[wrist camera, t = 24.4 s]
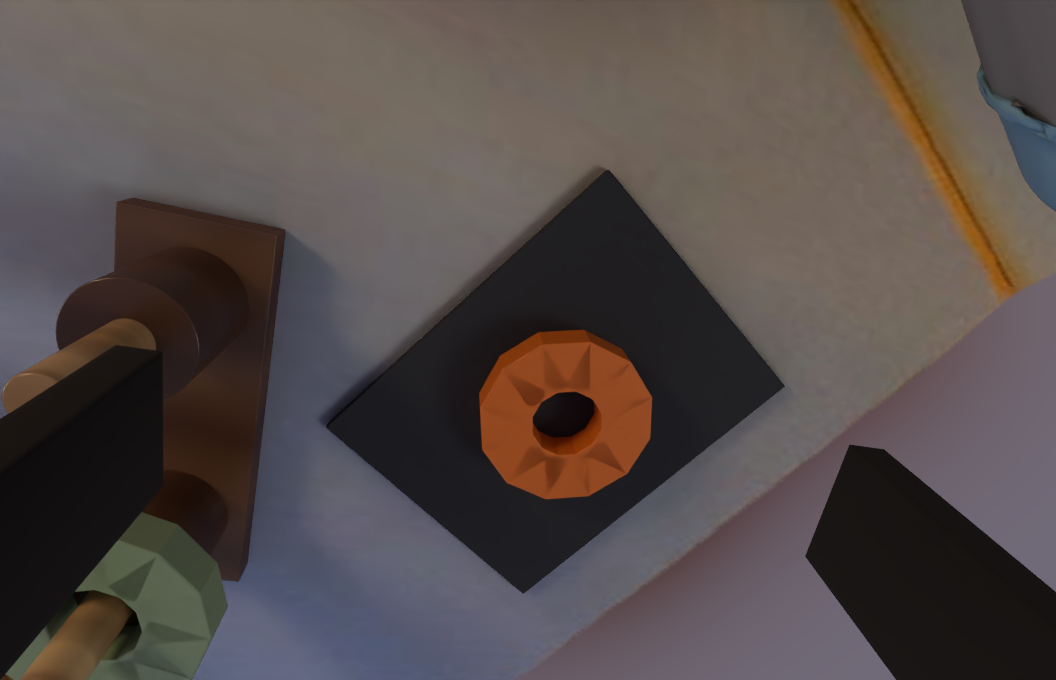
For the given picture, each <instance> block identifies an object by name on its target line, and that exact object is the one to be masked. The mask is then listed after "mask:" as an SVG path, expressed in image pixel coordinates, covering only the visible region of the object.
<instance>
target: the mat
mask: <svg viewBox="0 0 1056 680" xmlns="http://www.w3.org/2000/svg"><path fill="white" fill-rule="evenodd" d="M569 330H586V331H588V332H590V333H592V334H593V335H595V336H597V337H599V338H601V339H603V340H605V341H607V342H609V343H611V344H613V345H615V346H617V347H619V348H621V349H623V351H624V352H625V354H626V355H627V357H628V358H629V360H630V361H631V363H632V364H633V366H634V368H635V369H636V371H637V373H638V374H639V376H640V378H641V379H642V381H643V383H644V384H645V386H646V388H647V390H648V391H649V393H650V395H651V396H652V412H651V434H650V440H649V441H648V443H647V444H646V446H645V447H644V449H643V450H642V452H641V453H640V455H639V457H638V458H637V460H636V461H635V463H634V464H633V466H632V467H631V469H630V470H629V472H628V473H627V474H626V475H624V476H623V477H621V478H619V479H617V480H616V481H614V482H612V483H610V484H609V485H607V486H605V487H603V488H602V489H600V490H598V491H596V492H595V493H593V494H591V495H590V496H583V497H570V498H556V499H544V498H542V497H539V496H537V495H535V494H532V493H530V492H527V491H525V490H523V489H520V488H518V487H516V486H513V485H511V484H508V483H507V482H506V481H505V480H504V478H503V477H502V476H501V474H500V473H499V472H498V470H497V469H496V468H495V466H494V465H493V464H492V462H491V461H490V460H489V458H488V457H487V456H486V454H485V453H484V451H483V450H482V439H481V420H480V401H479V392H480V391H481V389H482V387H483V385H484V383H485V382H486V380H487V378H488V376H489V375H490V373H491V371H492V369H493V367H494V366H495V364H496V362H497V360H498V358H499V357H500V355H502V354H503V353H505V352H507V351H508V350H510V349H512V348H513V347H515V346H517V345H518V344H520V343H522V342H523V341H525V340H526V339H528V338H530V337H531V336H533V335H535V334H536V333H538V332H550V331H569ZM783 387H784V385H783V383H782V382H781V381H780V380H779V379H778V377H777V376H776V375H775V374H774V372H773V371H772V370H771V369H770V367H769V366H768V365H767V364H766V363H765V361H764V360H763V359H762V358H761V356H760V355H759V354H758V353H757V351H756V350H755V349H754V348H753V347H752V345H751V344H750V343H749V342H748V340H747V339H746V338H745V337H744V335H743V334H742V333H741V332H740V331H739V329H738V328H737V327H736V326H735V324H734V323H733V322H732V321H731V319H730V318H729V317H728V316H727V314H726V313H725V312H724V311H723V310H722V308H721V307H720V306H719V305H718V303H717V302H716V301H715V300H714V298H713V297H712V296H711V295H710V294H709V292H708V291H707V290H706V289H705V287H704V286H703V285H702V284H701V282H700V281H699V280H698V279H697V278H696V276H695V275H694V274H693V273H692V271H691V270H690V269H689V268H688V266H687V265H686V264H685V263H684V262H683V260H682V259H681V258H680V257H679V255H678V254H677V253H676V252H675V250H674V249H673V248H672V247H671V246H670V244H669V243H668V242H667V241H666V239H665V238H664V237H663V236H662V234H661V233H660V232H659V231H658V230H657V228H656V227H655V226H654V225H653V223H652V222H651V221H650V220H649V218H648V217H647V216H646V215H645V213H644V212H643V211H642V210H641V209H640V207H639V206H638V205H637V204H636V202H635V201H634V200H633V199H632V197H631V196H630V195H629V194H628V193H627V191H626V190H625V189H624V188H623V186H622V185H621V184H620V183H619V181H618V180H617V179H616V178H615V177H614V175H613V174H612V173H611V172H610V171H609V170H606V171H605V172H604V173H603V174H602V175H601V176H600V177H599V178H598V179H596V180H595V181H594V182H593V183H592V184H591V185H590V186H589V187H588V188H586V189H585V190H584V191H583V192H582V193H581V194H580V195H579V196H578V197H577V198H575V199H574V200H573V201H572V202H571V203H570V204H569V205H568V206H567V207H566V208H564V209H563V210H562V211H561V212H560V213H559V214H558V215H557V216H556V217H555V218H553V219H552V220H551V221H550V222H549V223H548V224H547V225H546V226H545V227H544V228H542V229H541V230H540V231H539V232H538V233H537V234H536V235H535V236H534V237H533V238H531V239H530V240H529V241H528V242H527V243H526V244H525V245H524V246H523V247H522V248H520V249H519V250H518V251H517V252H516V253H515V254H514V255H513V256H512V257H511V258H509V259H508V260H507V261H506V262H505V263H504V264H503V265H502V266H501V267H499V268H498V269H497V270H496V271H495V272H494V273H493V274H492V275H491V276H490V277H488V278H487V279H486V280H485V281H484V282H483V283H482V284H481V285H480V286H479V287H477V288H476V289H475V290H474V291H473V292H472V293H471V294H470V295H469V296H468V297H466V298H465V299H464V300H463V301H462V302H461V303H460V304H459V305H458V306H457V307H455V308H454V309H453V310H452V311H451V312H450V313H449V314H448V315H447V316H446V317H444V318H443V319H442V320H441V321H440V322H439V323H438V324H437V325H436V326H435V327H433V328H432V329H431V330H430V331H429V332H428V333H427V334H426V335H425V336H424V337H422V338H421V339H420V340H419V341H418V342H417V343H416V344H415V345H414V346H412V347H411V348H410V349H409V350H408V351H407V352H406V353H405V354H404V355H403V356H401V357H400V358H399V359H398V360H397V361H396V362H395V363H394V364H393V365H392V366H390V367H389V368H388V369H387V370H386V371H385V372H384V373H383V374H382V375H381V376H379V377H378V378H377V379H376V380H375V381H374V382H373V383H372V384H371V385H370V386H368V387H367V388H366V389H365V390H364V391H363V392H362V393H361V394H360V395H359V396H357V397H356V398H355V399H354V400H353V401H352V402H351V403H350V404H349V405H348V406H346V407H345V408H344V409H343V410H342V411H341V412H340V413H339V414H338V415H337V416H335V417H334V418H333V419H332V420H331V421H330V422H329V423H328V424H327V429H329V430H330V431H331V432H332V433H333V434H335V435H336V436H337V437H338V438H339V439H340V440H342V441H343V442H344V443H345V444H346V445H348V446H349V447H350V448H351V449H352V450H354V451H355V452H356V453H357V454H358V455H359V456H361V457H362V458H363V459H364V460H365V461H367V462H368V463H369V464H370V465H371V466H373V467H374V468H375V469H376V470H377V471H378V472H380V473H381V474H382V475H383V476H384V477H386V478H387V479H388V480H389V481H390V482H391V483H393V484H394V485H395V486H396V487H397V488H399V489H400V490H401V491H402V492H403V493H405V494H406V495H407V496H408V497H409V498H410V499H412V500H413V501H414V502H415V503H416V504H418V505H419V506H420V507H421V508H422V509H423V510H425V511H426V512H427V513H428V514H429V515H431V516H432V517H433V518H434V519H435V520H437V521H438V522H439V523H440V524H441V525H442V526H444V527H445V528H446V529H447V530H448V531H450V532H451V533H452V534H453V535H454V536H455V537H457V538H458V539H459V540H460V541H461V542H463V543H464V544H465V545H466V546H467V547H469V548H470V549H471V550H472V551H473V552H474V553H476V554H477V555H478V556H479V557H480V558H482V559H483V560H484V561H485V562H486V563H487V564H489V565H490V566H491V567H492V568H493V569H495V570H496V571H497V572H498V573H499V574H501V575H502V576H503V577H504V578H505V579H506V580H508V581H509V582H510V583H511V584H512V585H514V586H515V587H516V588H517V589H518V590H519V591H521V592H522V593H525V592H526V591H527V590H529V589H530V588H531V587H532V586H534V585H535V584H536V583H537V582H539V581H540V580H541V579H542V578H544V577H545V576H546V575H547V574H549V573H550V572H551V571H553V570H554V569H555V568H556V567H558V566H559V565H560V564H561V563H563V562H564V561H565V560H566V559H568V558H569V557H570V556H571V555H573V554H574V553H575V552H577V551H578V550H579V549H580V548H582V547H583V546H584V545H585V544H587V543H588V542H589V541H590V540H592V539H593V538H594V537H595V536H597V535H598V534H599V533H600V532H602V531H603V530H604V529H606V528H607V527H608V526H609V525H611V524H612V523H613V522H614V521H616V520H617V519H618V518H619V517H621V516H622V515H623V514H624V513H626V512H627V511H628V510H629V509H631V508H632V507H633V506H635V505H636V504H637V503H638V502H640V501H641V500H642V499H643V498H645V497H646V496H647V495H648V494H650V493H651V492H652V491H653V490H655V489H656V488H657V487H658V486H660V485H661V484H662V483H664V482H665V481H666V480H667V479H669V478H670V477H671V476H672V475H674V474H675V473H676V472H677V471H679V470H680V469H681V468H682V467H684V466H685V465H686V464H687V463H689V462H690V461H691V460H693V459H694V458H695V457H696V456H698V455H699V454H700V453H701V452H703V451H704V450H705V449H706V448H708V447H709V446H710V445H711V444H713V443H714V442H715V441H716V440H718V439H719V438H720V437H722V436H723V435H724V434H725V433H727V432H728V431H729V430H730V429H732V428H733V427H734V426H735V425H737V424H738V423H739V422H740V421H742V420H743V419H744V418H745V417H747V416H748V415H749V414H751V413H752V412H753V411H754V410H756V409H757V408H758V407H759V406H761V405H762V404H763V403H764V402H766V401H767V400H768V399H769V398H771V397H772V396H773V395H775V394H776V393H777V392H778V391H780V390H781V389H782V388H783ZM593 415H594V401H593V400H592V399H591V398H589V397H587V396H585V395H582V394H580V393H578V392H561V393H556V394H555V395H553V396H551V397H550V398H548V399H546V400H545V401H543V402H541V404H540V406H539V407H538V409H537V411H536V412H535V414H534V416H533V424H534V425H535V427H536V428H537V430H538V431H539V432H542V433H544V434H546V435H548V436H551V437H553V438H556V437H571V436H573V435H575V434H576V433H578V432H580V431H581V430H583V429H585V428H586V426H587V425H588V423H589V421H590V420H591V418H592V417H593Z"/></svg>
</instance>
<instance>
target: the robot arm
mask: <svg viewBox="0 0 1056 680" xmlns="http://www.w3.org/2000/svg"><path fill="white" fill-rule="evenodd" d="M961 1H962V4H963V7H964V10H965V13H966V17H967V20H968V23H969V26H970V29H971V33H972V36H973V39H974V42H975V45H976V49H977V52H978V55H979V58H980V62H981V66H980V69H979V71H978V72H977V78H978V84H979V89H980V91H981V94H982V95H983V97H984V99H985V100H986V102H987V104H988V105H989V106H991V107H992V108H993V109H994V110H995V111H996V112H997V113H998V114H999V116H1000V119H1001V121H1002V124H1003V126H1004V129H1005V132H1006V134H1007V137H1008V139H1009V142H1010V144H1011V147H1012V150H1013V152H1014V155H1015V157H1016V160H1017V162H1018V165H1019V168H1020V170H1021V173H1022V175H1023V177H1024V179H1025V181H1026V182H1027V184H1028V185H1029V186H1030V188H1031V189H1032V190H1033V192H1034V193H1035V194H1036V195H1037V196H1038V197H1039V198H1040V199H1041V200H1042V201H1043V202H1044V203H1045V204H1046V205H1048V206H1049V207H1050V208H1051V209H1053V210H1054V211H1056V0H961ZM163 486H164V482H163V351H157V350H149V349H142V348H135V347H127V346H120V345H115V346H113V347H112V348H110V349H109V350H107V351H106V352H104V353H102V354H101V355H99V356H98V357H96V358H95V359H93V360H91V361H90V362H88V363H87V364H85V365H84V366H82V367H81V368H79V369H77V370H76V371H74V372H73V373H71V374H70V375H68V376H67V377H65V378H63V379H62V380H60V381H59V382H57V383H56V384H54V385H53V386H51V387H49V388H48V389H46V390H45V391H43V392H42V393H40V394H39V395H37V396H35V397H34V398H32V399H31V400H29V401H28V402H26V403H24V404H23V405H21V406H20V407H18V408H17V409H15V410H14V411H12V412H10V413H9V414H7V415H6V416H4V417H3V418H1V419H0V680H1V679H2V678H3V676H4V675H5V674H6V673H7V672H8V670H9V669H10V668H11V667H12V666H13V665H14V663H15V662H16V661H17V660H18V659H19V657H20V656H21V655H22V654H23V653H24V651H25V650H26V649H27V648H28V647H29V646H30V644H31V643H32V642H33V641H34V640H35V638H36V637H37V636H38V635H39V634H40V632H41V631H42V630H43V629H44V628H45V626H46V625H47V624H48V623H49V622H50V621H51V619H52V618H53V617H54V616H55V615H56V613H57V612H58V611H59V610H60V609H61V607H62V606H63V605H64V604H65V603H66V602H67V600H68V599H69V598H70V597H71V596H72V594H73V593H74V592H75V591H76V590H77V588H78V587H79V586H80V585H81V584H82V583H83V581H84V580H85V579H86V578H87V577H88V575H89V574H90V573H91V572H92V571H93V569H94V568H95V567H96V566H97V565H98V563H99V562H100V561H101V560H102V559H103V558H104V556H105V555H106V554H107V553H108V552H109V550H110V549H111V548H112V547H113V546H114V544H115V543H116V542H117V541H118V540H119V539H120V537H121V536H122V535H123V534H124V533H125V531H126V530H127V529H128V528H129V527H130V525H131V524H132V523H133V522H134V521H135V520H136V518H137V517H138V516H139V515H140V514H141V512H142V511H143V510H144V509H145V508H146V506H147V505H148V504H149V503H150V502H151V501H152V499H153V498H154V497H155V496H156V495H157V493H158V492H159V491H160V490H161V489H162V487H163ZM806 558H807V559H808V561H809V562H810V563H811V565H812V566H813V568H814V569H815V570H816V572H817V573H818V574H819V576H820V577H821V578H822V580H823V581H824V582H825V584H826V585H827V586H828V588H829V589H830V590H831V592H832V593H833V595H834V596H835V597H836V599H837V600H838V601H839V603H840V604H841V606H842V607H843V608H844V610H845V611H846V612H847V614H848V615H849V616H850V618H851V619H852V620H853V622H854V623H855V625H856V626H857V627H858V628H859V630H860V631H861V633H862V634H863V635H864V637H865V638H866V639H867V641H868V642H869V643H870V645H871V646H872V647H873V649H874V650H875V652H876V653H877V654H878V656H879V657H880V658H881V660H882V661H883V662H884V664H885V665H886V667H887V668H888V669H889V671H890V672H891V673H892V675H893V676H894V677H895V679H896V680H1056V592H1055V591H1054V590H1053V589H1051V588H1050V587H1049V586H1048V585H1046V584H1045V583H1044V582H1043V581H1042V580H1041V579H1039V578H1038V577H1037V576H1036V575H1034V574H1033V573H1032V572H1031V571H1030V570H1029V569H1027V568H1026V567H1025V566H1024V565H1022V564H1021V563H1020V562H1019V561H1018V560H1016V559H1015V558H1014V557H1013V556H1012V555H1010V554H1009V553H1008V552H1007V551H1006V550H1004V549H1003V548H1002V547H1001V546H1000V545H998V544H997V543H996V542H995V541H993V540H992V539H991V538H990V537H989V536H988V535H986V534H985V533H984V532H983V531H982V530H980V529H979V528H978V527H977V526H976V525H974V524H973V523H972V522H971V521H969V520H968V519H967V518H966V517H965V516H963V515H962V514H961V513H960V512H959V511H957V510H956V509H955V508H954V507H953V506H951V505H950V504H949V503H948V502H947V501H945V500H944V499H943V498H942V497H941V496H939V495H938V494H937V493H935V491H933V490H932V489H931V488H930V487H928V486H927V485H926V484H925V483H923V481H921V480H920V479H919V478H918V477H917V476H915V475H914V474H913V473H912V472H910V471H909V470H908V469H907V468H906V467H904V466H903V465H902V464H901V463H900V462H898V461H897V460H896V459H894V457H892V456H891V455H890V454H889V453H888V452H886V451H885V450H884V449H876V448H870V447H862V446H855V445H849V448H848V450H847V453H846V455H845V458H844V460H843V463H842V465H841V468H840V470H839V473H838V475H837V478H836V480H835V483H834V485H833V488H832V490H831V493H830V495H829V498H828V501H827V503H826V505H825V508H824V510H823V513H822V515H821V518H820V521H819V523H818V526H817V528H816V531H815V533H814V536H813V538H812V541H811V543H810V546H809V548H808V551H807V553H806Z"/></svg>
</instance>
